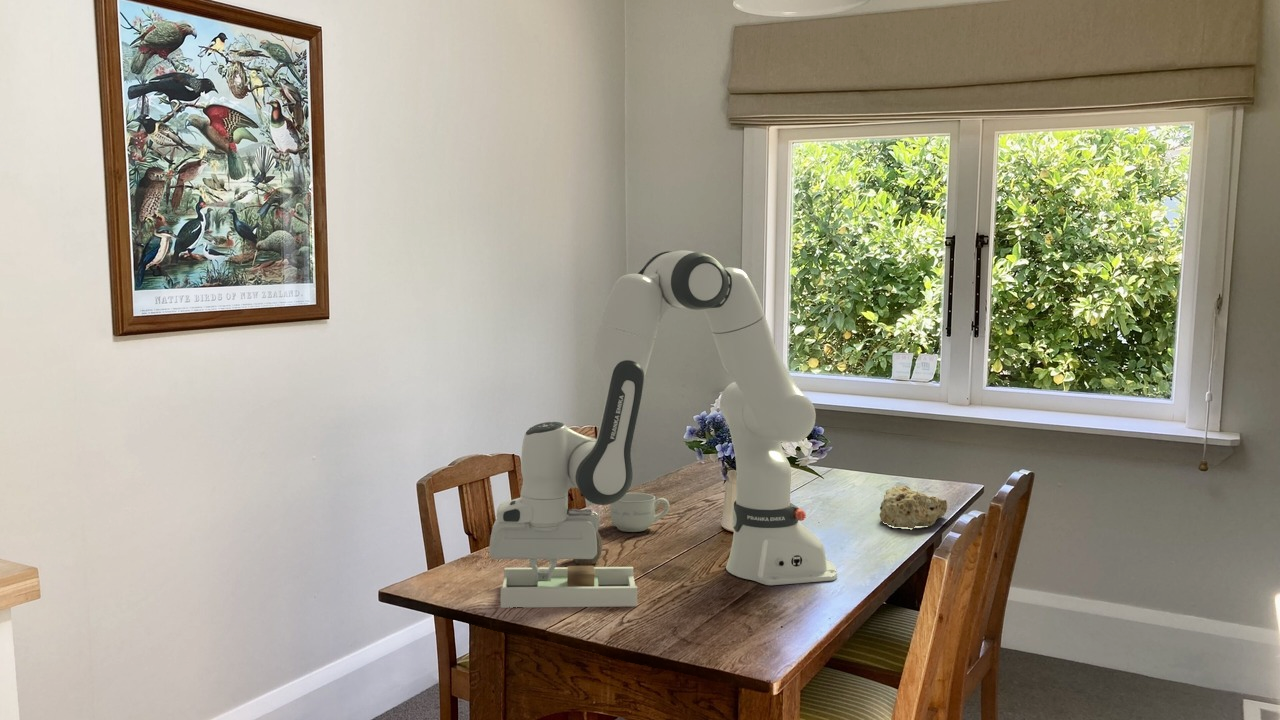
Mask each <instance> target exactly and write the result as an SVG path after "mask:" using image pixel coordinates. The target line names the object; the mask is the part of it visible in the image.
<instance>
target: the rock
mask: <svg viewBox="0 0 1280 720" xmlns="http://www.w3.org/2000/svg"><path fill="white" fill-rule="evenodd" d="M947 510H948V502H947V499H942V498H939V497H938V498H937V496H933V495H932V496H928V495H927V494H924V493H921V492H919V491H915V490H912V489H911V488H910V487H909V486H907V485H906V486H905V485H904V486H903V485H897V486H893V487H892V488H891V489H886V491H885V494H884V495H883V500H882V502H880V507H879V511H880V513H879V518H880V520H881V523H882V522H884V523H887V524H888V525H891V526H894V527H908V528H914V527H915V526H929V527H932V525H934V524H935V523H936V521H937V520H938V519H940V518H942V516H943V517H944V516H945V515H946V513H947ZM914 529H915V528H914Z"/></svg>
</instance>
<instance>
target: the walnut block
mask: <svg viewBox="0 0 1280 720" xmlns="http://www.w3.org/2000/svg"><path fill="white" fill-rule="evenodd" d="M567 567H568V573H567V587H591V586H594V567H595V566H594V565H567Z"/></svg>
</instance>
